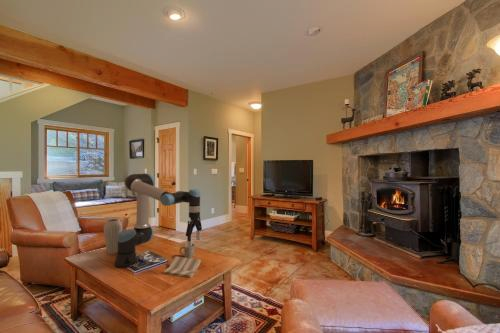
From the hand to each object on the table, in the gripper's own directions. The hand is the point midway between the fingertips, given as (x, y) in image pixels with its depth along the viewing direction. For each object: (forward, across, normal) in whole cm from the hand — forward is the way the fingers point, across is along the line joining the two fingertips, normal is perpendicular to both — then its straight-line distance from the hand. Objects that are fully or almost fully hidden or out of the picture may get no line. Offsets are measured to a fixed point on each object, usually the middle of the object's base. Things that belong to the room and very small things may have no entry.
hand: (194, 242), depth 164 cm
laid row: (+18, -5, +5) cm, 20 cm away
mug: (+19, +16, +14) cm, 28 cm away
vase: (+19, +8, +76) cm, 79 cm away
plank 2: (+15, -2, 0) cm, 16 cm away
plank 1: (+15, -2, +11) cm, 19 cm away
